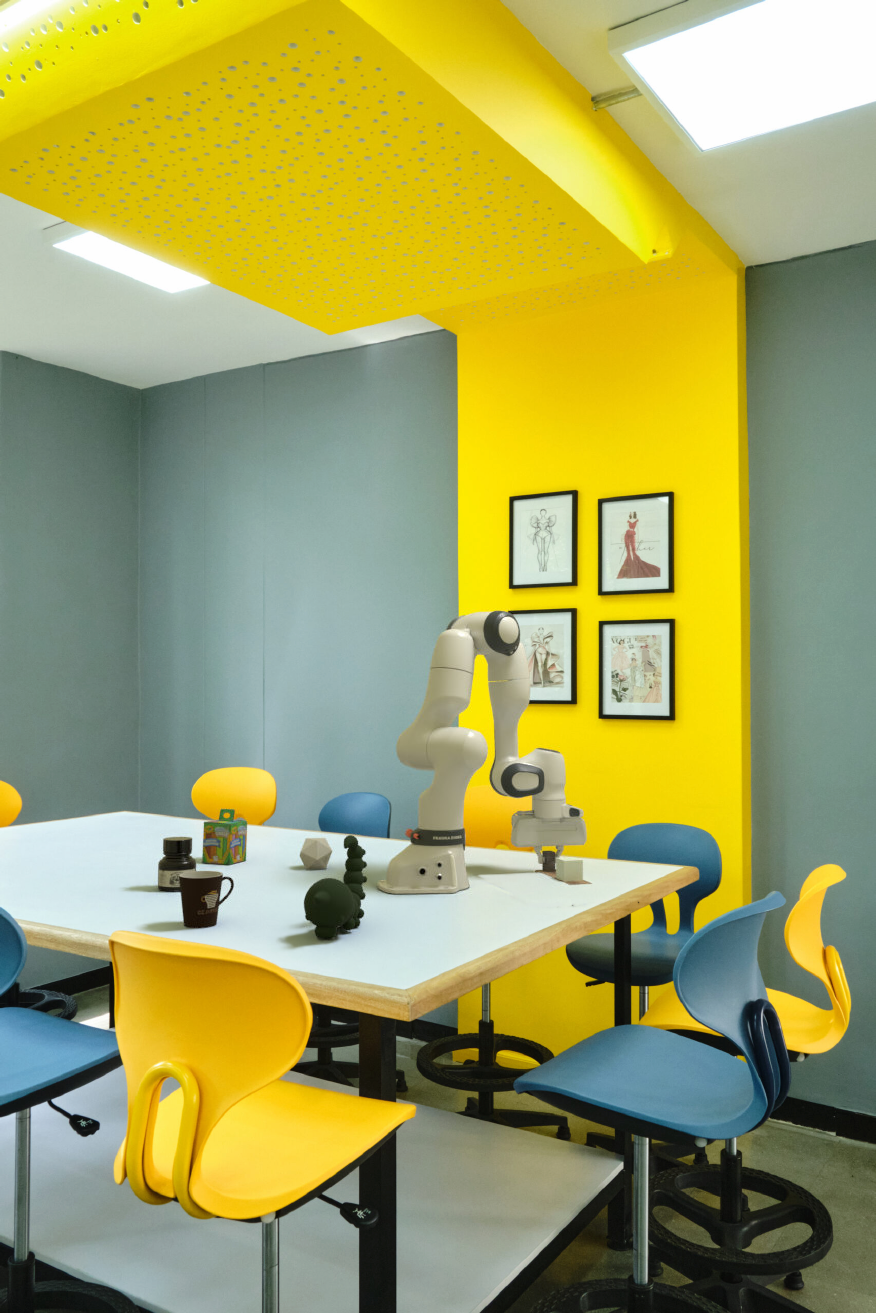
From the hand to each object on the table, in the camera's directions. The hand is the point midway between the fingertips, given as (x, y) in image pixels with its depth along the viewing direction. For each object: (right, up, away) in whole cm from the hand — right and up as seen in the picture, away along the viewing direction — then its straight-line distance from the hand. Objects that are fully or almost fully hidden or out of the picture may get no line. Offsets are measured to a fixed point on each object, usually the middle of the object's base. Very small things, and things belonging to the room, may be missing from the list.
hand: (548, 863), depth 255 cm
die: (-62, -4, +9) cm, 63 cm away
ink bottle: (-92, -2, -21) cm, 94 cm away
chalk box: (-89, -4, +19) cm, 91 cm away
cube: (+4, -1, -13) cm, 13 cm away
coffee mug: (-75, 0, -59) cm, 96 cm away
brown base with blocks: (+3, -3, -9) cm, 10 cm away
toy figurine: (-49, 0, -65) cm, 81 cm away
